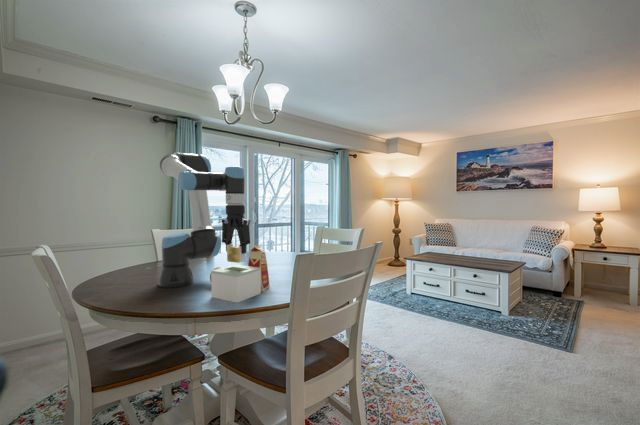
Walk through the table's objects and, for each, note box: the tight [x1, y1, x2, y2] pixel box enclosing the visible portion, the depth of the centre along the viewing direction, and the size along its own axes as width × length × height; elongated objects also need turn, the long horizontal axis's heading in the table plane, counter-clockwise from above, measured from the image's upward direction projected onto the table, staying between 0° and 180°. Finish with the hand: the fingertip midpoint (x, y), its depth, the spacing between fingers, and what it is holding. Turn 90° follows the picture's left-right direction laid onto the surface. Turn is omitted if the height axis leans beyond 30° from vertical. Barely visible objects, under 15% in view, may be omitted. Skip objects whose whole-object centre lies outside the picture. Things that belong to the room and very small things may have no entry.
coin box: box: [210, 263, 262, 303], centre depth 138 cm, size 14×14×11 cm
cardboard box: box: [227, 245, 245, 264], centre depth 137 cm, size 6×3×6 cm, turn 60°
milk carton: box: [247, 244, 271, 292], centre depth 149 cm, size 9×9×20 cm
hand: (236, 260), depth 137 cm, fingers closed on cardboard box, 6 cm apart
